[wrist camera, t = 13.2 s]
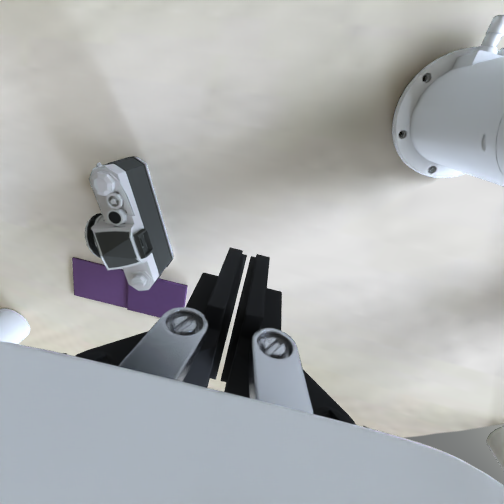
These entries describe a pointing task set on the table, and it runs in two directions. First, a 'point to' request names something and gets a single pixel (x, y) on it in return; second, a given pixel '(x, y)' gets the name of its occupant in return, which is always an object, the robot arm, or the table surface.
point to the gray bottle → (13, 326)
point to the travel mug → (497, 445)
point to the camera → (128, 222)
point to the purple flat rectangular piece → (125, 289)
